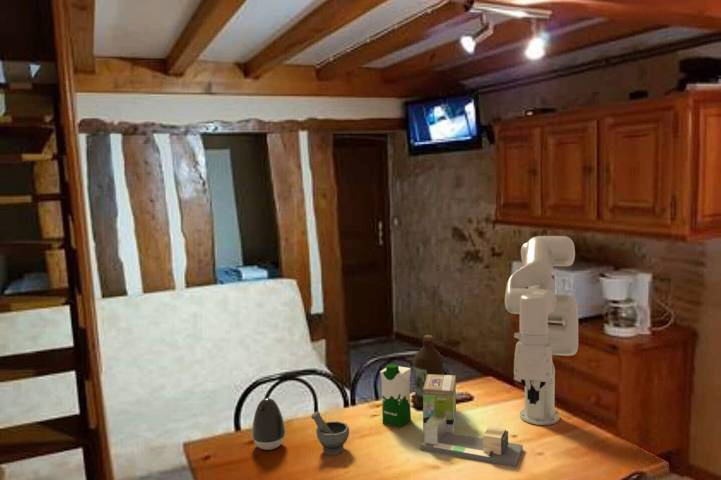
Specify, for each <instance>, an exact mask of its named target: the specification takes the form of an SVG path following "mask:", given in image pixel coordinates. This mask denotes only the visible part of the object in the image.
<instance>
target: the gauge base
mask: <svg viewBox="0 0 721 480" xmlns="http://www.w3.org/2000/svg"><path fill="white" fill-rule="evenodd" d="M523 447H524V445H523V444H519V443H513V442H508V446H507V448H506V450H505V452H504V453H502V454H501V455H498V454H492V456H491V457H490V456H489V454H490V453H486V452H483V437H482V438H481V437H477V436H476V437H475V436H471V435H466V434H460V433H458V434H457V433H454V432H453V433H447V434H446V435H445V437H444V438H443V439H442V441H441V442H440V443H439V445H438V446H435V445H434V446H433V445H428V444H425V439H424V440H423V441H422V442H421V444H420V451H426V452H431V453H437V454H443V455H449V456H452V457H453V456H454V457H460V458H466V459H469V460H477V461H481V462H486V463H491V464H492V463H493V464H497V465H504V466H509V467H510V466H511V467H514V468H515V467H517V464H518V462H519V460H520V457H521V455H522V453H523V450H524V449H523Z"/></svg>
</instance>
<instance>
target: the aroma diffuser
mask: <svg viewBox="0 0 721 480" xmlns="http://www.w3.org/2000/svg"><path fill="white" fill-rule="evenodd" d="M285 426H286V425H285V422H284V417H283V415H282V412H281V409H280V407H279V406H278V403H277V402H276V401H275V400H274V398H273V399H272V398H270V397H266V398H262V399H261V401H259V403H258V405H257V407H256V409H255V413H254V416H253V421H252V426H251V427H252V429H251V438H252V440H253V442H254V444H255V445H256V446H257V447H258V448H259V449H261V450H265V451H266V450H269V451H270V450H274V449H276V448H278V447H279V446H281V445H282V444H283V441H284V440H285V436H286V427H285Z"/></svg>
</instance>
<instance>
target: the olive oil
mask: <svg viewBox="0 0 721 480" xmlns="http://www.w3.org/2000/svg"><path fill="white" fill-rule="evenodd" d="M422 338H423V340H422V342H423V343H422V345H423V346H422V347H421V348H420V349H419V350H418V351H417V352H416V354H415V355H414V357H413V360H412V361H413V362H412V363H413V364H412V368H413V377H414V378H413V379H414V393H415V405H416V404H417V405H419V406H421V407H423V388H424V384H425V381H426V377H427V374H433V375H444V359H443V357H442V355H441V353H440V352H439V351H438V350H437V349H436V348H435V347H434V343H433V336H432V335H431V334H425V335H423V337H422ZM417 405H416V406H417Z"/></svg>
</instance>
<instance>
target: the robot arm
mask: <svg viewBox="0 0 721 480" xmlns="http://www.w3.org/2000/svg"><path fill="white" fill-rule="evenodd" d="M520 248H521V249H520V257H521V258H520V259H521V263H522V266H521V267H520V268H518V269H517V270H516V271H515V272H513V273H512V274H511V275H510V276H509V279H508V280H507V282H506V286H505V294H504V306H505V307H504V308H505V309H506V311H507V312H508V313H511V315H512V314H515V315H519V332H514V334H513V336H514V338H516V339H518V341H517V342H516V344H515V350H514V359H513V380H514V381H517V382H519V383H521V384H523V386H524V408H522V409H521V410H520V412H519V417H520V419H521V420H522V421H524V422H526V423H528V424H531V425H532V424H533V425H536V426H549V425H550V426H551V425H554V424H557V423H558V422H559V421H560V414H559V412H557V411H555V387H556V385H555V383H556V381H555V380H556V379H555V378H556V377H555V376H556V375H555V374H556V368H555V365H554V363H553V356H567V357H568V356H569V357H570V356H574V355H576V354H577V352H578V348H579V306H578V305H579V304H578V301H577V298H575V296H573V295H572V294H566V293H563V294H562V293H561V294H560V293H555V279H554V278H553V277H552V275H553V271H554V268H553V267H571V266H572V265H573V264H574V262H575V257H576V251H575V250H576V249H575V244H574V241H573V240H572V238H570V237H569V236H566V235H565V236H564V235H539V236H534V237H531V238H530V239H529V240H528V241H527V242H524V243H523V244H522V245H521V247H520ZM549 323H554V324H555V325H553V324H549ZM557 324H562V325H557Z"/></svg>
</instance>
